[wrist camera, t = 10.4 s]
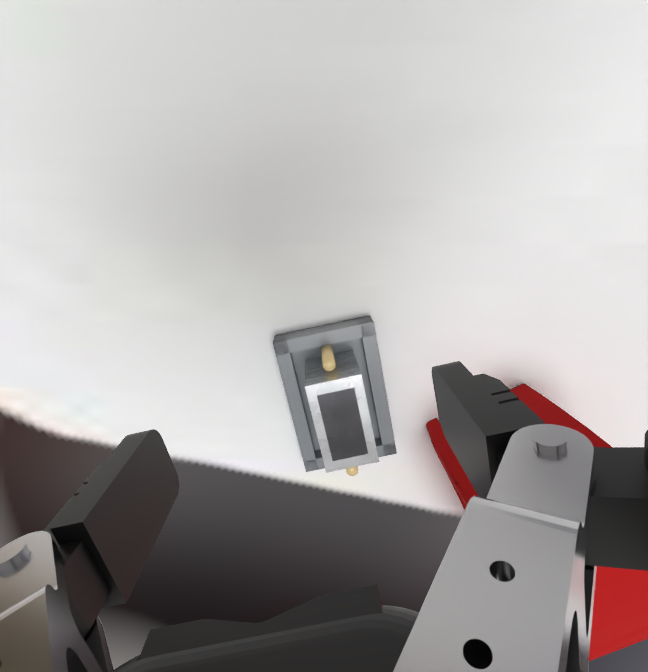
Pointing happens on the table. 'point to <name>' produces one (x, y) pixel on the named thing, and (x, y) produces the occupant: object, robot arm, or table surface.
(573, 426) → the fire alarm
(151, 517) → the robot arm
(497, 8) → the table surface
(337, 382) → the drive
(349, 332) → the tray
